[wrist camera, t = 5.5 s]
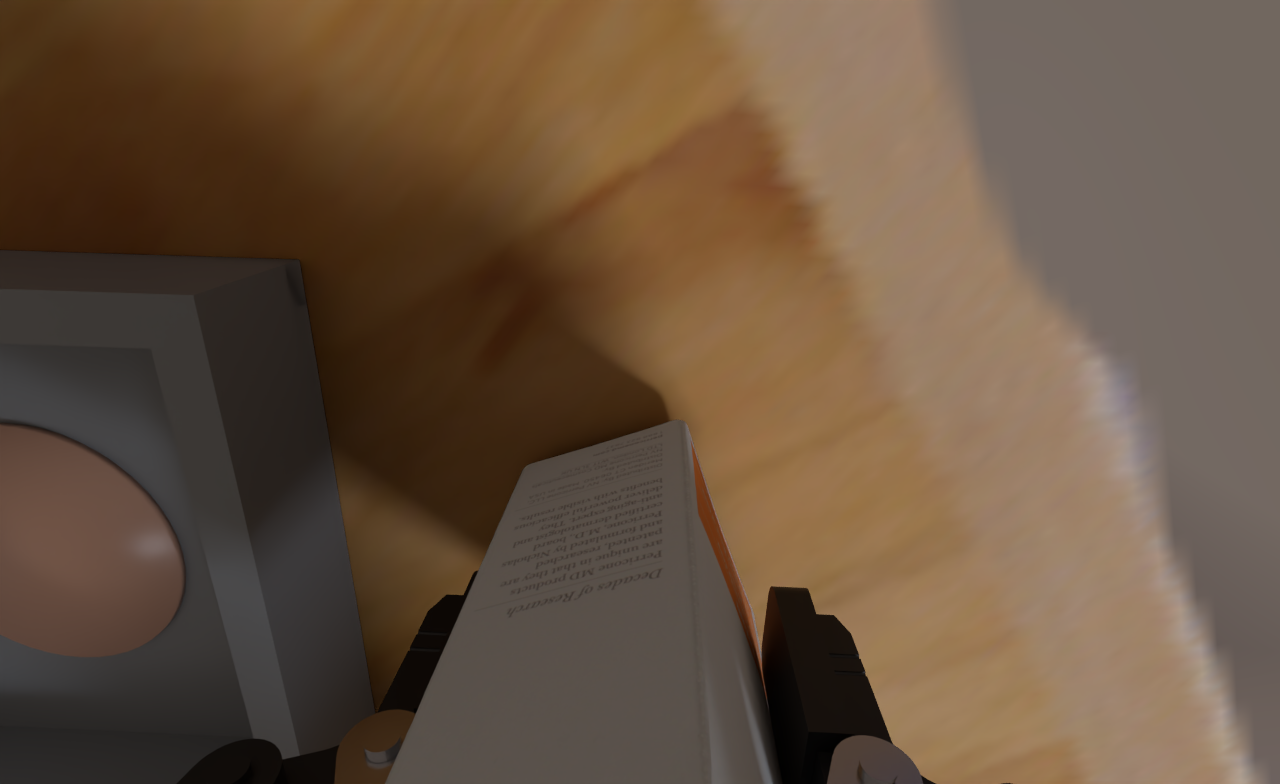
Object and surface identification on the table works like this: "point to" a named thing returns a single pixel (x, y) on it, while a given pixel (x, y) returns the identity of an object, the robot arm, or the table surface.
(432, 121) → the table surface
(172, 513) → the shallow gray box
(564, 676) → the skincare box
